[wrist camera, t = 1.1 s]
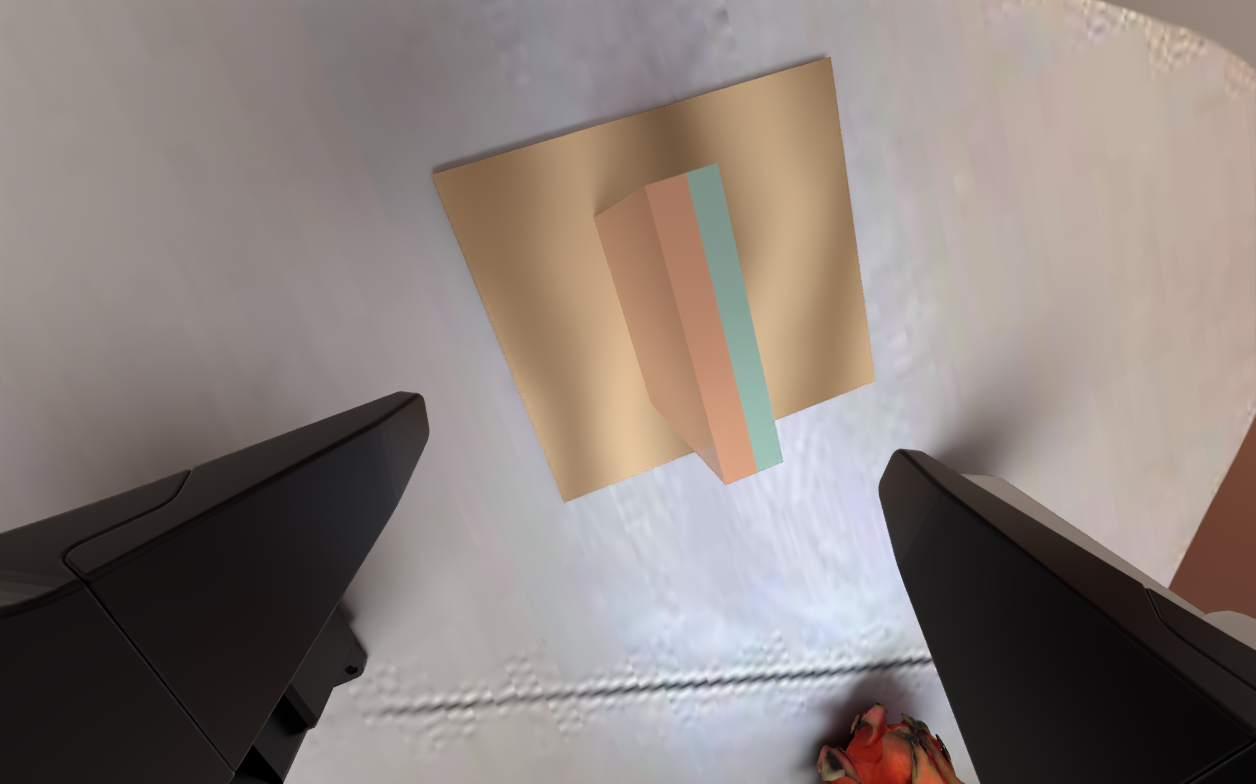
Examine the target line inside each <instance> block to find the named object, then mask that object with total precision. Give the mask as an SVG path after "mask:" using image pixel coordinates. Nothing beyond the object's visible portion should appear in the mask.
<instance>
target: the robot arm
mask: <svg viewBox="0 0 1256 784" xmlns="http://www.w3.org/2000/svg"><path fill="white" fill-rule="evenodd" d="M428 437H429V424H428V419H427V413H426V407H425V401H424V398H423V396H422V395H420V394H419V393H412V392H403V391H400V392H396V393H393V394H391V395H388V396H385V397H382V398H380V399H377V400H374V401H372V402H369V403H366V404H364V405H361V406H358V407H355V408H353V409H350V410H347V411H345V412H342V413H339V414H336V415H334V416H331V417H328V418H326V419H323V420H320V421H318V422H315V423H312V424H309V425H307V426H304V427H301V428H299V429H296V430H293V431H290V432H288V433H285V434H282V435H280V436H277V437H274V438H272V439H269V440H266V441H263V442H261V443H258V444H255V445H253V446H250V447H247V448H244V449H242V450H239V451H236V452H234V453H231V454H228V455H226V456H223V457H220V458H217V459H215V460H212V461H209V462H207V463H204V464H201V465H198V466H196V467H194V468H193V469H192V471H191V470H185V471H182V472H179V473H176V474H174V475H171V476H168V477H166V478H163V479H160V480H158V481H155V482H152V483H149V484H146V485H143V486H141V487H138V488H135V489H132V490H129V491H127V492H124V493H121V494H118V495H115V496H113V497H110V498H107V499H104V500H101V501H98V502H95V503H92V504H89V505H86V506H83V507H80V508H77V509H74V510H71V511H68V512H65V513H62V514H59V515H55V516H52V517H49V518H46V519H43V520H40V521H37V522H34V523H31V524H28V525H25V526H22V527H18V528H15V529H12V530H9V531H6V532H3V533H0V784H283V783H284V780H285V778H286V776H287V774H288V772H289V770H290V767H291V765H292V763H293V761H294V759H295V757H296V754H297V752H298V750H299V748H300V746H301V744H302V741H303V739H304V737H305V735H306V733H307V731H308V730H310V729H312V728H315V726H316V725H317V723H318V721H319V719H320V717H321V714H322V712H323V710H324V708H325V705H326V703H327V701H328V699H329V696H330V694H331V692H332V690H333V688H334V687H336V686H339V685H341V684H343V683H346V682H348V681H351V680H353V679H355V678H358V677H359V676H361V675H362V673H363V672H364V669H365V667H366V663H367V660H366V658H365V656H364V655H363V653H362V652H361V650H360V648H359V647H358V645H357V644H356V642H355V641H354V640H355V638H354V636H353V634H352V633H351V631H350V630H349V628H348V627H347V625H346V624H345V622H344V621H343V619H342V617H341V616H340V614H339V613H338V611H337V610H336V608H335V607H336V606H337V604H338V603H339V601H340V599H341V598H342V596H343V594H344V593H345V591H346V589H347V588H348V586H349V584H350V583H351V581H352V580H353V578H354V576H355V575H356V573H357V571H358V570H359V568H360V566H361V565H362V563H363V561H364V560H365V558H366V557H367V555H368V553H369V552H370V550H371V548H372V547H373V545H374V543H375V542H376V540H377V538H378V537H379V535H380V534H381V532H382V530H383V529H384V527H385V525H386V524H387V522H388V520H389V519H390V517H391V515H392V514H393V512H394V510H395V508H396V507H397V505H398V503H399V501H400V499H401V497H402V495H403V493H404V491H405V489H406V486H407V484H408V482H409V480H410V478H411V476H412V473H413V471H414V469H415V467H416V465H417V463H418V460H419V458H420V456H421V454H422V452H423V450H424V447H425V445H426V443H427V441H428ZM878 491H879V498H880V501H881V505H882V509H883V513H884V517H885V521H886V525H887V529H888V532H889V536H890V540H891V544H892V548H893V552H894V556H895V559H896V562H897V566H898V569H899V572H900V575H901V577H902V580H903V583H904V586H905V588H906V591H907V593H908V596H909V599H910V601H911V604H912V606H913V609H914V612H915V614H916V617H917V620H918V622H919V625H920V627H921V630H922V633H923V635H924V638H925V641H926V643H927V646H928V648H929V651H930V654H931V656H932V659H933V662H934V664H935V667H936V669H937V672H938V675H939V677H940V680H941V682H942V685H943V688H944V690H945V693H946V696H947V698H948V701H949V703H950V706H951V709H952V711H953V714H954V717H955V719H956V722H957V724H958V727H959V730H960V732H961V735H962V738H963V740H964V743H965V745H966V748H967V751H968V753H969V756H970V758H971V761H972V764H973V766H974V769H975V772H976V774H977V777H978V779H979V782H980V784H1256V650H1255V649H1253V648H1251V647H1249V646H1248V645H1246V644H1244V643H1242V642H1241V641H1239V640H1237V639H1235V638H1233V637H1232V636H1230V635H1228V634H1227V633H1225V632H1223V631H1222V630H1220V629H1218V628H1216V627H1215V626H1213V625H1211V624H1210V623H1208V622H1206V621H1204V620H1203V619H1201V618H1199V617H1198V616H1196V615H1194V614H1193V613H1191V612H1189V611H1187V610H1186V609H1184V608H1182V607H1181V606H1179V605H1177V604H1176V603H1174V602H1172V601H1171V600H1169V599H1167V598H1166V597H1164V596H1162V595H1161V594H1159V593H1157V592H1156V591H1154V590H1152V589H1151V588H1145V587H1144V585H1143V584H1142V583H1140V582H1139V581H1137V580H1135V579H1134V578H1132V577H1130V576H1129V575H1127V574H1125V573H1124V572H1122V571H1120V570H1119V569H1117V568H1115V567H1114V566H1112V565H1110V564H1109V563H1107V562H1105V561H1104V560H1102V559H1100V558H1099V557H1097V556H1095V555H1094V554H1092V553H1090V552H1089V551H1087V550H1085V549H1084V548H1082V547H1080V546H1079V545H1077V544H1075V543H1074V542H1072V541H1070V540H1069V539H1067V538H1065V537H1064V536H1062V535H1060V534H1059V533H1057V532H1055V531H1054V530H1052V529H1050V528H1049V527H1047V526H1045V525H1044V524H1042V523H1040V522H1039V521H1037V520H1035V519H1034V518H1032V517H1031V516H1029V515H1027V514H1026V513H1024V512H1022V511H1021V510H1019V509H1017V508H1016V507H1014V506H1012V505H1011V504H1009V503H1007V502H1006V501H1004V500H1002V499H1001V498H999V497H997V496H996V495H994V494H992V493H991V492H989V491H987V490H986V489H984V488H982V487H981V486H979V485H977V484H976V483H974V482H972V481H971V480H969V479H967V478H966V477H964V476H962V475H961V474H959V473H957V472H956V471H954V470H952V469H951V468H949V467H947V466H946V465H944V464H942V463H941V462H939V461H937V460H936V459H934V458H932V457H931V456H929V455H927V454H926V453H924V452H922V451H918V450H909V449H898V450H896V451H895V452H894V453H893V454H892V456H891V458H890V460H889V463H888V465H887V467H886V469H885V471H884V473H883V476H882V478H881V480H880V483H879V489H878ZM350 665H355V666H356V667H351V666H350Z"/></svg>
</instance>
